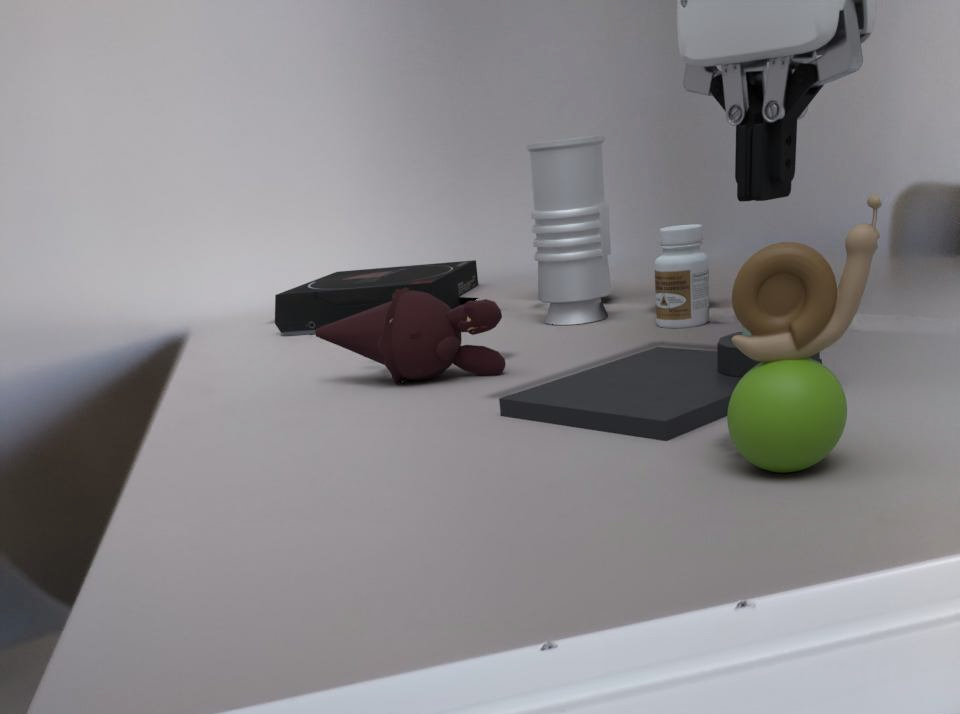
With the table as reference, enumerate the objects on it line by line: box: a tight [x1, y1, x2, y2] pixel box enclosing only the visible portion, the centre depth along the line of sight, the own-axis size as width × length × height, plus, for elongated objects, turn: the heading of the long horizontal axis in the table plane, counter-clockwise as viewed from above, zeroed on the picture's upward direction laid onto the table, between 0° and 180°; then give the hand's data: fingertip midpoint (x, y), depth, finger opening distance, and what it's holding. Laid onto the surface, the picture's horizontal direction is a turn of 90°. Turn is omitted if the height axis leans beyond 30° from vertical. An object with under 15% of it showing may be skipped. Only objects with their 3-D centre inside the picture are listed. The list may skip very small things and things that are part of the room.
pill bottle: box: [654, 223, 710, 329], centre depth 86 cm, size 4×4×8 cm
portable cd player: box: [274, 259, 479, 337], centre depth 109 cm, size 16×17×4 cm
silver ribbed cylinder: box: [525, 134, 613, 326], centre depth 92 cm, size 7×7×15 cm
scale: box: [498, 331, 823, 442], centre depth 64 cm, size 16×14×3 cm
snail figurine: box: [726, 193, 883, 474], centre depth 47 cm, size 5×6×12 cm
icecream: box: [314, 287, 506, 385], centre depth 77 cm, size 7×7×15 cm
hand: (764, 198), depth 60 cm, fingers closed
